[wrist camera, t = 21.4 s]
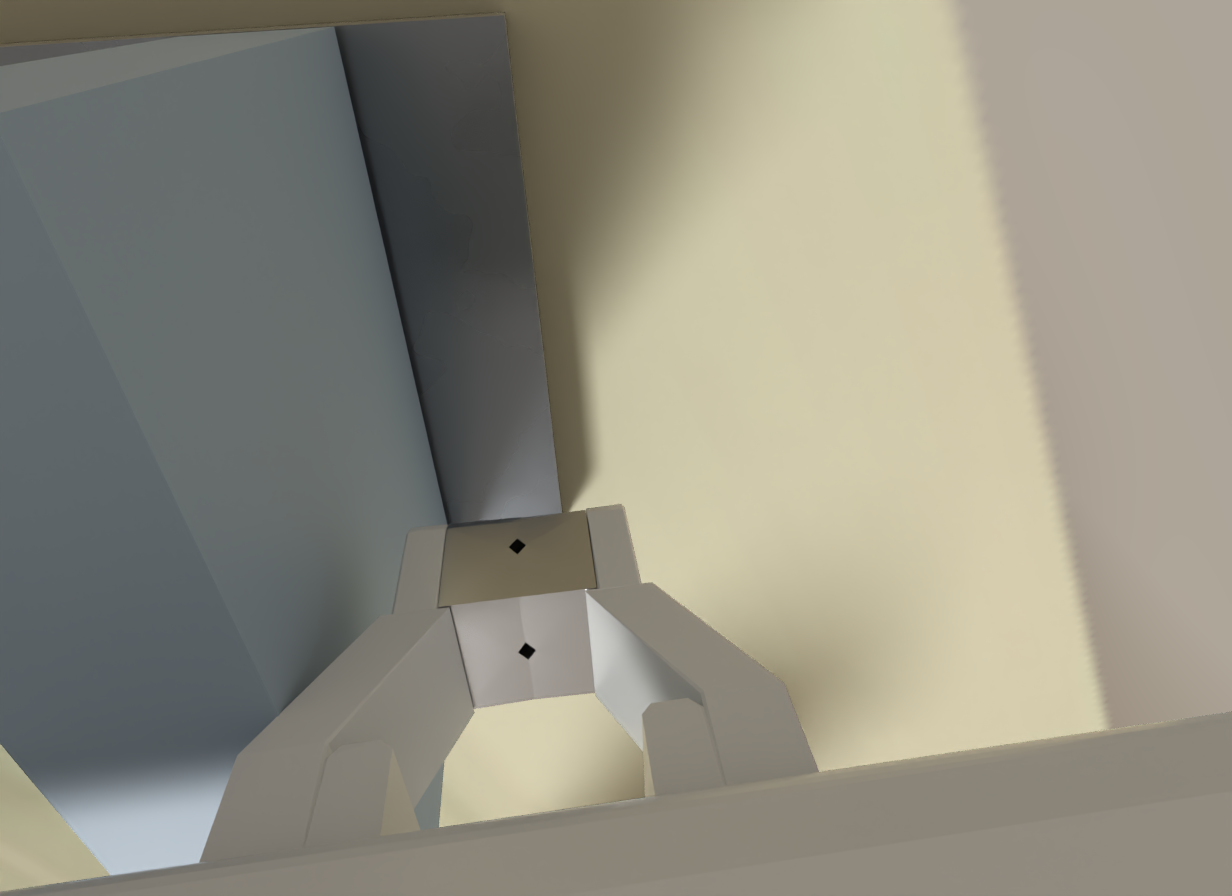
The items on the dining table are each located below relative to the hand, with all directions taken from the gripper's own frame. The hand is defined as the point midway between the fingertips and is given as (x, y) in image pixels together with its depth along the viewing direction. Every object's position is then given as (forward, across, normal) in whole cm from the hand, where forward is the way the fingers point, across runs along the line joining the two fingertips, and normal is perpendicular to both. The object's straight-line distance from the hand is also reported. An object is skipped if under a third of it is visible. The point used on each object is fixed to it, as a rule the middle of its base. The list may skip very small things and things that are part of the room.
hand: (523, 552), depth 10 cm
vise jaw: (+6, -4, 0) cm, 7 cm away
